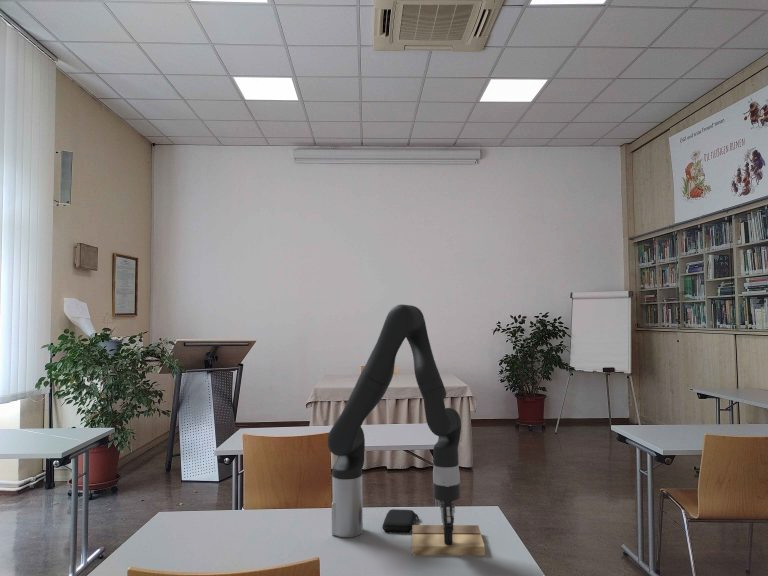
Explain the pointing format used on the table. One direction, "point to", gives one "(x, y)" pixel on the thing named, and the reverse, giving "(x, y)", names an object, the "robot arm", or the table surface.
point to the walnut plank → (439, 530)
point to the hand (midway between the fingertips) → (448, 543)
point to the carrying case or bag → (399, 521)
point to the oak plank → (437, 546)
